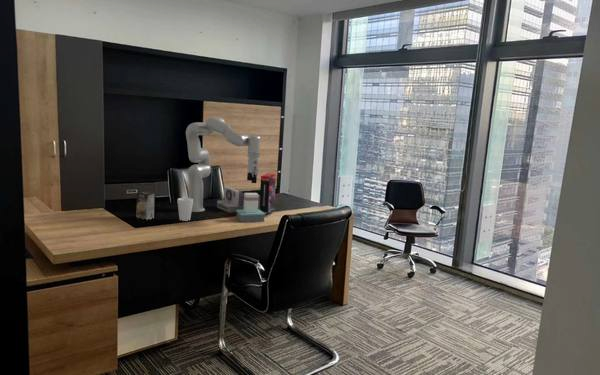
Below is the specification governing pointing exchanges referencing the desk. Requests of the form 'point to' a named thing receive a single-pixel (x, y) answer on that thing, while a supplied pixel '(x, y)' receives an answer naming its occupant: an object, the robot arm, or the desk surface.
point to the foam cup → (185, 208)
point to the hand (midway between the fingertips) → (251, 181)
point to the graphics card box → (267, 193)
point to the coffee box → (145, 205)
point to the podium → (250, 216)
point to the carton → (251, 202)
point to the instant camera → (231, 200)
